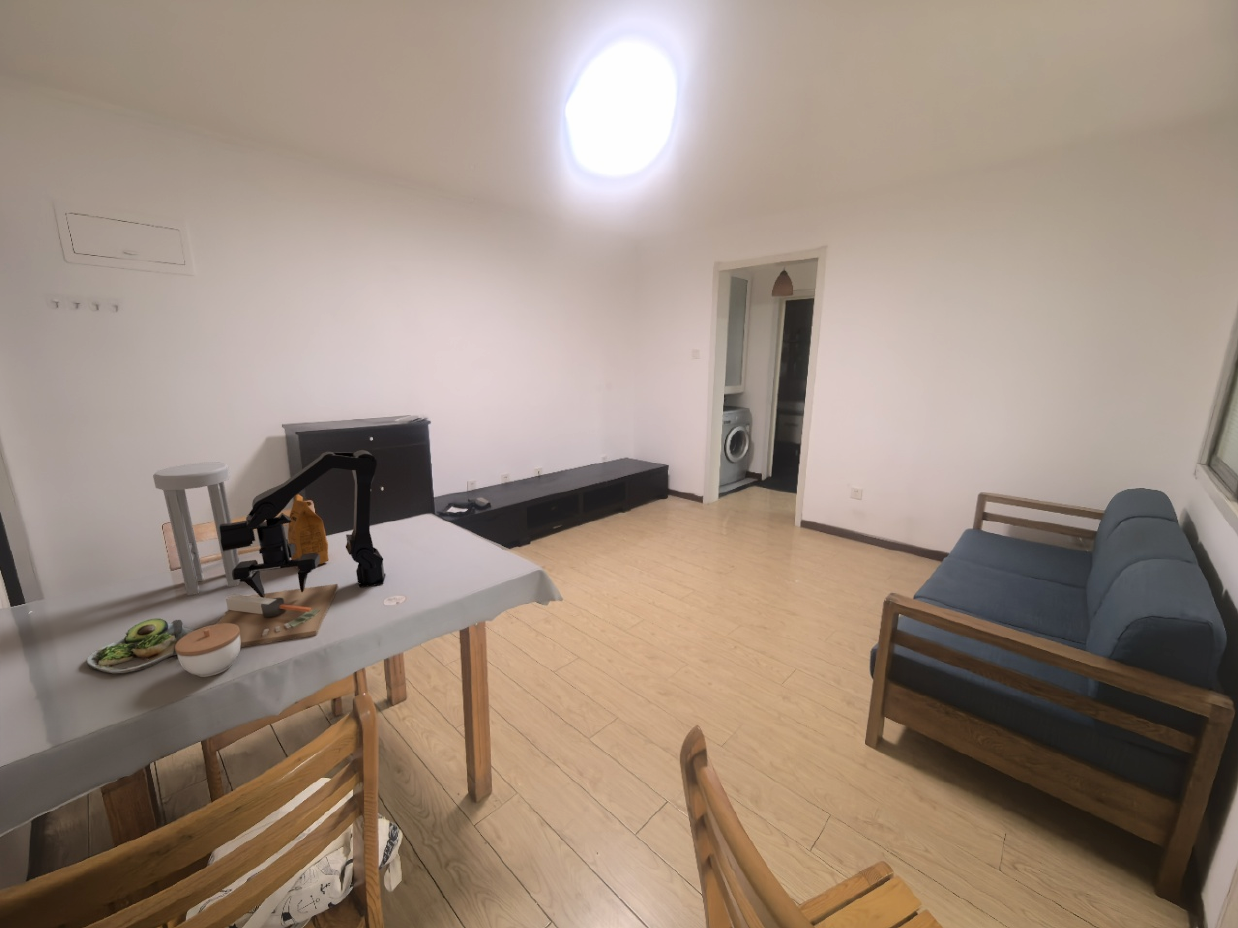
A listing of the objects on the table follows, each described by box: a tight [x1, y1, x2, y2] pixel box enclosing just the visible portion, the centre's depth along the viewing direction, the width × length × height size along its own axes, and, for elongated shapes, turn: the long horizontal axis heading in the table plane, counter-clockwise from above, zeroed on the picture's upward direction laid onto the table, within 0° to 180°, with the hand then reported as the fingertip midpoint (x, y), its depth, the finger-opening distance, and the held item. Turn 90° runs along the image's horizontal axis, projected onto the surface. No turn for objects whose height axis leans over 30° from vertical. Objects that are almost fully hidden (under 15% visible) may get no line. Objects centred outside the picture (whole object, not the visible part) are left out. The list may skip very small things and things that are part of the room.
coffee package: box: [287, 493, 330, 569], centre depth 155 cm, size 10×12×22 cm
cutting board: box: [216, 583, 339, 648], centre depth 126 cm, size 24×25×2 cm
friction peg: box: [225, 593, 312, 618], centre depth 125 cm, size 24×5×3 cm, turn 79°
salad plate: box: [85, 618, 194, 674], centre depth 111 cm, size 19×18×5 cm
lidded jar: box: [175, 623, 242, 678], centre depth 105 cm, size 11×11×9 cm
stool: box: [152, 462, 241, 596], centre depth 139 cm, size 16×16×35 cm
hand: (283, 594), depth 131 cm, fingers open, 9 cm apart
